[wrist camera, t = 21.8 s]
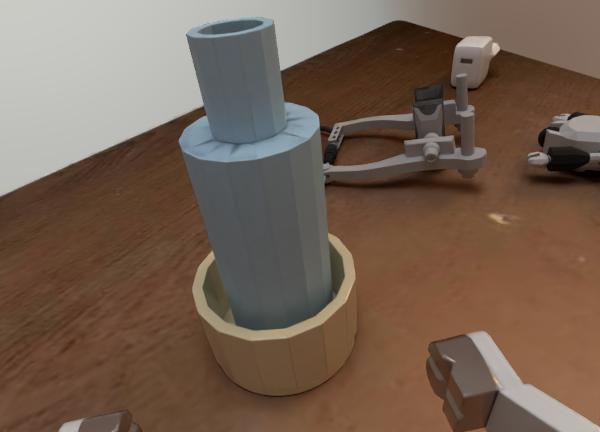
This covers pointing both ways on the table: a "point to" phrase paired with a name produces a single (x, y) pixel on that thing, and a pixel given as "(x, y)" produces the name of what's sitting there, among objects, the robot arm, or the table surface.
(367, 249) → the table surface
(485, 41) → the power adapter
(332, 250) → the holder
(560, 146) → the robot toy
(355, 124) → the bike brake
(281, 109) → the bottle
